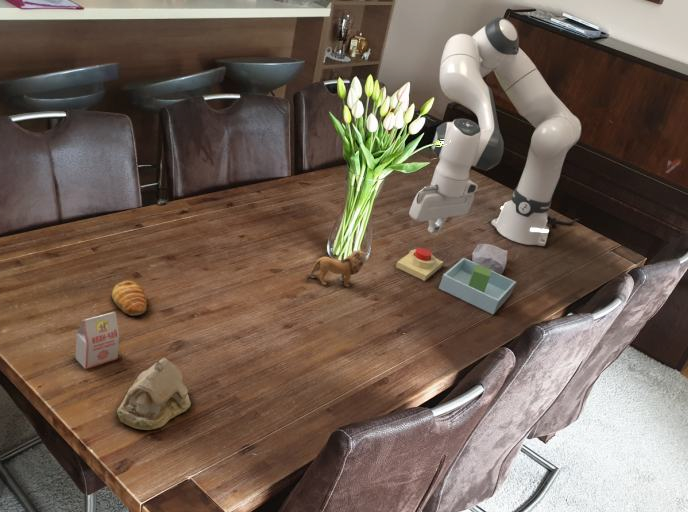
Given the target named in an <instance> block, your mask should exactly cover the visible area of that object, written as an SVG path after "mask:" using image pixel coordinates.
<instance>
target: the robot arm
mask: <svg viewBox="0 0 688 512" xmlns="http://www.w3.org/2000/svg"><path fill="white" fill-rule="evenodd" d="M519 38H520V37H519V33H518V30H517V28H516V26H515V25H514V24H513V23H512V22H511V21H510V20H509V19H508V18H504V17H501V16H497V17H495V18H493V19H491V20H489V21H488V22H487V23H486V24H485V25H484V26H483V27H482V28H480V29H479V30H478V31H476V32H475V33H474V34H473V35H472V36H471V35H469V34H466V33H457V34H454V35H453V36H451V37H450V38H449V39H447V42H446V43H445V45H444V48H443V51H442V55H441V57H440V65H439V75H438V77H439V86H440V89H441V91H442V92H443V94H444V95H445V97H447V98H448V99H449V100H451V101H453V102H455V103H457V104H459V105H461V106H463V107H464V108H466V109H468V110H469V111H471V112H472V113H473V114H475V116H476V117H477V121H478V122H477V123H478V124H477V123H476V122H474V121H473V120H471V119H468V118H456V119H453V121H445V122H442V123H441V124H439V125H438V126H437V127H436V129H435V134H434V136H433V139H432V143H434V142H436V141H437V140H439V141H444V144H442V145H445V144H447V145H445V146H441V147H435V146H440V145H435V146H431V145H430V148H431V150H432V152H433V154H434V155H435V157H436V158H437V159H439V161H438V163H437V165H436V167H435V169H434V173H433V176H432V179H431V182H430V185H426V186H423V187H422V188H421V189H420V190H419V191H418V192H417V193H416V195H415V197H414V198H413V201H412V203H411V206H410V209H409V212H408V215H409V218H411V219H412V220H414V221H415V222H417V223H422V222H427V221H428V227H427V231H428V232H429V233H430V234H434V233H437V232H440V231H441V228H442V226H443V225H444V224H445V222H446V221H447V220H448V218H452V217H458V216H464V215H466V214H468V212H469V211H470V209H471V207H472V205H473V201H474V198H475V193H476V192H477V191H478V188H479V185H478V184H477V183H475V182H474V181H472V180H471V179H470V171H471V168H472V167H474V168H475V169H478V170H482V171H488V170H490V169H493V168H494V167H496V166H498V165H499V164H500V162H501V161H502V157H503V155H504V146H505V145H504V139H503V136H502V134H501V131H500V126H499V121H498V116H497V115H498V114H497V110H496V109H497V108H496V104H495V100H494V94H493V91H492V88H491V87H490V86H489V85H488V84H487V83H486V82H485V80H484V79H483V78H484V77H486V76H488V75H489V74H490V73H491V72H494V75H495V77H496V79H497V81H498V83H499V86H500V87H501V88H502V90H503V91H504V93H505V95H506V96H507V97H508V99H509V100H510V102H511V104H512V105H513V107H514V108H515V110H516V111H517V112H518V114H519V115H520V116H521V117H523V118H524V119H525V120H527V122H529V123H530V124H531V125H532V127H534V128H535V129H534V131H533V133H532V136H531V137H530V138H531V139H530V144H529V149H528V153H527V157H526V161H525V165H524V168H523V170H522V174H521V176H520V179H519V181H518V184H517V186H516V187H515V188H514V190H513V192H512V195H511V199H510V200H508V201H506V202H504V204H503V206H501V207H500V210H501V211H500V213H499V215H498V217H497V218H494V219H492V220H491V222H490V224H491V225H492V226H494V227H495V229H496V230H497V232H498V233H499V234H500V235H501V236H503V237H504V238H506V239H507V240H510V241H512V242H515V243H518V244H522V245H526V246H538V247H539V246H540V247H545V246H546V243H547V240H548V235H549V232H550V227H548V226H547V225H551V226H552V228H555V226H556V223H557V224H562V225H572V224H574V223H576V222H577V223H581V219H579V218H575V219H573V220H571V221H563V220H560V219H559V220H558V219H557V217H556V216H554V215H553V214H552V213H550V212H549V210H550V207H551V206H552V205H551V204H552V198H553V195H554V193H555V190H556V188H557V185H558V183H559V180H560V178H561V173H562V168H563V164H564V162H565V158H566V156H567V153H568V152H569V150H571V148H573V146H575V145H576V144H577V142H579V139H580V138H581V135H582V123H581V121H580V119H579V118H578V117H577V116H576V115H574V114H573V113H572V112H571V111H570V109H568V107H567V106H566V105H565V104H564V103H563V101H561V99H560V98H559V97H558V96H557V95H556V94H555V93H554V92H553V90H552V89H551V87H550V86H549V85H548V83H547V82H546V80H545V78H544V77H543V75H542V74H541V72H540V71H539V70H538V68H537V66H536V65H535V63H534V62H533V61H532V60H531V58H530V57H529V55H527V54H526V53H525V51H523V49H521V48H520V45H519V44H520V41H519V40H520V39H519ZM440 139H445V140H440ZM450 140H451V142H450ZM449 142H450V143H449ZM432 143H431V144H432ZM440 143H441V142H440Z"/></svg>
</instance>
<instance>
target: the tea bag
mask: <svg viewBox="0 0 688 512" xmlns="http://www.w3.org/2000/svg"><path fill="white" fill-rule="evenodd" d="M119 344H120V330H119V324H118V317H117V312H116V311H112V312H108V313H105V314H104V313H103V314H100V315H97V316H92V317H89V318H84V319H81V323H80V325H79V327H78V329H77V331H76V335H75V360H76V361H77V362H78V363H79V364H80V365H81V366H82V367H83V368H84V369H85V370H87V369H90V368H94V367H97V366H100V365H104V364H107V363H110V362H113V361H116V360H118V358H119Z"/></svg>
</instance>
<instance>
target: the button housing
mask: <svg viewBox="0 0 688 512" xmlns="http://www.w3.org/2000/svg"><path fill="white" fill-rule="evenodd" d="M416 249H417V248H413V249H411V250H410V251H409V252H408V254H406V255H404V256H403V257H402V258H400V259H399V260H398V261H397V262H396V264H395V268H397V269H399V270H401V271H403V272H405V273H407V274H409V275H411V276H413V277H416V278H418V279H420V280H422V281H424V282H425V281H427V279H429V278H430V277H432V276H433V275H434V274H435V273H436V272H437V271H439V270H440V269H441V268H442V267H443V265H444V261H443V260H441V259H438V258H437V257H435V255H433V254H432V255H431V258H430V260H429V261H423V260H420V259H418V258H416V257H415V252H416Z"/></svg>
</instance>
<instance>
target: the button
mask: <svg viewBox="0 0 688 512" xmlns="http://www.w3.org/2000/svg"><path fill="white" fill-rule="evenodd" d="M415 249H416V252H415V257H416V258H418V259H420V260H423V261H429V260H430V258H431V255H433V254H432V253H433V252H432V251H430V250H429V249H427V248H424V247H417V248H415Z"/></svg>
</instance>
